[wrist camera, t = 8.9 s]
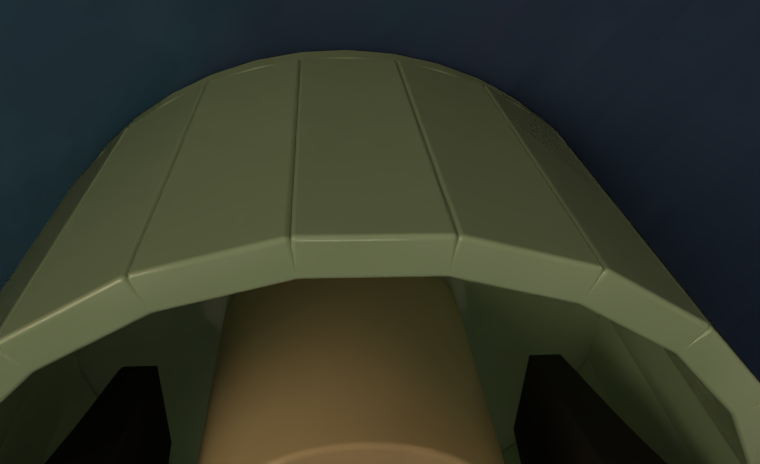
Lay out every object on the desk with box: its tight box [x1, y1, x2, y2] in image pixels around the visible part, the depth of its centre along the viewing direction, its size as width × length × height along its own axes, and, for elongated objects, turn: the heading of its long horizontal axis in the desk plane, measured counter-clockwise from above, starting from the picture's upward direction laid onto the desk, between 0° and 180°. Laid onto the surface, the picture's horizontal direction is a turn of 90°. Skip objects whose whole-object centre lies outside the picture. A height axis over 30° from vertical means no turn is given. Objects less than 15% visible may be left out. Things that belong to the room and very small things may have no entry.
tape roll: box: [197, 276, 505, 464], centre depth 12 cm, size 5×5×5 cm
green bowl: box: [0, 50, 760, 464], centre depth 12 cm, size 12×12×6 cm
